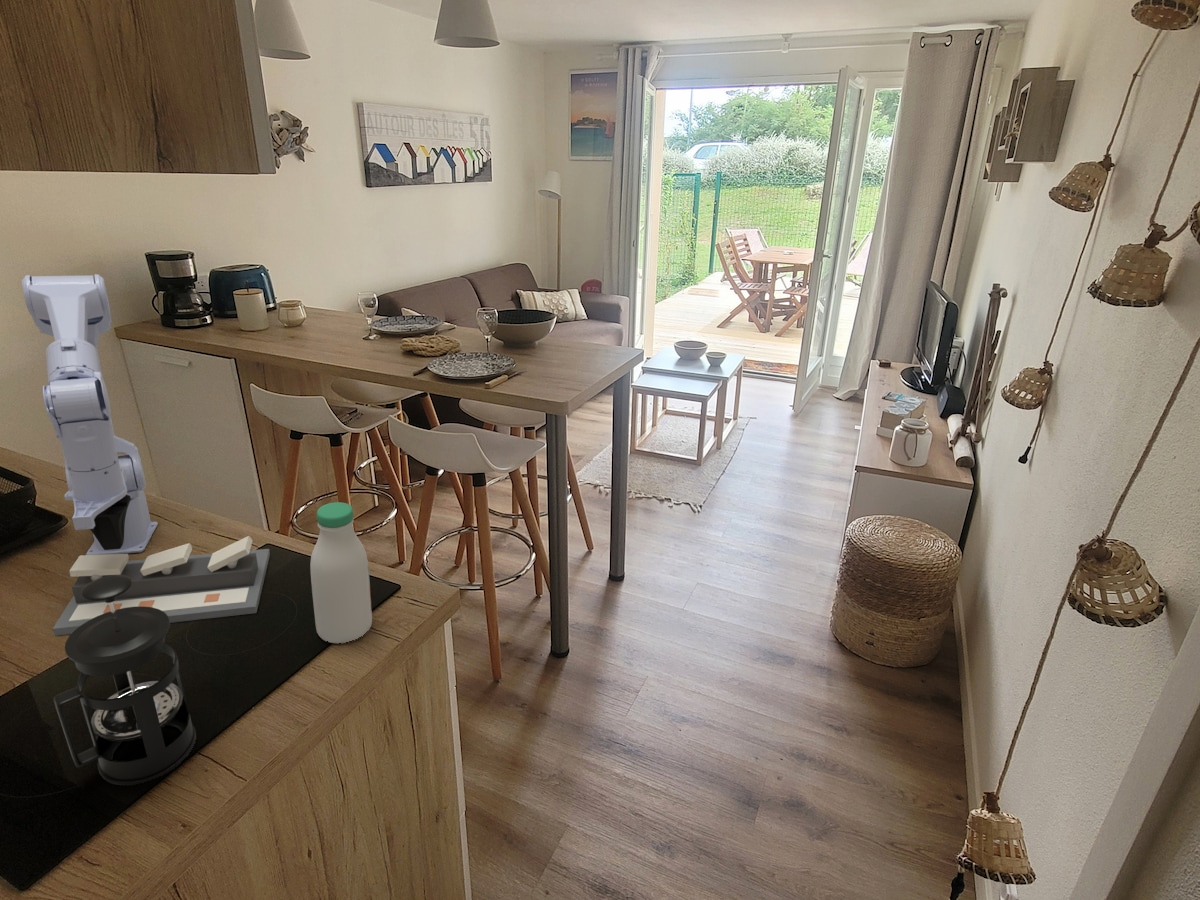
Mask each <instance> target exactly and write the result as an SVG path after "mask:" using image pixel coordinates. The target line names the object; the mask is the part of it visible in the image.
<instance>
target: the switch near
mask: <svg viewBox="0 0 1200 900" xmlns="http://www.w3.org/2000/svg"><path fill="white" fill-rule="evenodd" d="M129 559H130V557H129V553H124V554H108V555H86V554H85V555H84V554H83V555H79V556H78V557H77V559H76V561H74V563H73V565H72V566H71V568H70V569H69V571H68V572H69V576H70V577H71V578H72V577H74V578H75V577H79V576H91V579H92V580H93V581H94V580H96V579H99V578H102V576H103V575H120V574H121V573H122V571H123V569H124V567H125V566H126V564H127V562H128V561H130V560H129Z"/></svg>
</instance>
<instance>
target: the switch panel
mask: <svg viewBox="0 0 1200 900" xmlns="http://www.w3.org/2000/svg"><path fill="white" fill-rule="evenodd" d="M212 554H213V553H206V554H204V553H203V554H194V555H193V554H192V555H191V554H190V556H189V558H188V560H187V563H184V564H180V565H177V566H174V567H173V569H172V571H171V573H170V574H168V575H165V574H163V573H162V570H161V571H158V572H155V573H152V574H148V575H145V576H143V574H142V573H141V571H140V570H141V568H142V566H143V564H144V562H145V560H146V558H145V559H136V560H135V559H134V560H133V559H132V560H128V562H127V564H126V566H125V567H124V569H123V571H122V573H121V574H120V575H124V576H127V577H129V578H130V579H131V580H132V585H131V587H130V588H129V589H128V590H127V591H126V592H124V593H122V594H120V595H118V596H116V597H115V598H116V600H115V601H113V604H114V607H115V610H117V609H122V608H128V607H141V606H144V607H153V608H156V609H159V610H161V611H163V612H164V613H165V614H167V616H168V618H169V621H170V624H171V623H179V622H180V623H181V622H189V621H197V620H200V621H201V620H206V619H207V620H208V619H215V618H225V617H232V616H234V617H235V616H240V615H243V616H244V615H251V614H257V612H258V608H259V604H260V600H261V595H262V592H263V591H262V590H263V586H264V581H265V577H266V574H267V569H268V566H269V565H268V564H269V562H270V561H269V560H270V557H271V553H270V548H264V549H250V552H249V554H248V555H246V556H244V557H242V558H240V559H238V561H237V565H236V567H235V568H229V567H228V566H227V565H225V566H223V567H221V568H219V569H217V570H215V571H213V572H211V571H210V570H209V569H208V568H207V567H208V564H209V562H210V559H211V556H212ZM105 576H111V575H103V576H102V577H105ZM77 577H78V578H77V579H76V580H75V582H74V584H73V585H72V586H71V590H72V592H73V593H72V594H73V595H72V598H70V601H69V602H68V603H67V605H66V607H65V608H64V610H63V612H62V613H61V615H60V616H59V618H58V619H57V621H56V622H55V624H54V626H53V627H52V631H53V632H52V633H53V635H54V637H56V636H65V635H71V634H72V633H73V632H74V631H75V630H76V629H77V628H78V627H80V626H81V625H82V624H84V623H86V622H87V621H89V620H91V619H93V618H95V617H97V616H99V615H102V614H104V613H107V612H110V611H111V610H110V606H109V603H106V602H105V600H99V601H93V600H87V599H85V598H83V597H82V595H81V591H82V589H83V588H84V587H85V586H86V585H87V584H88V583H90V582H92V581H93V580H92V579H91V576H77Z"/></svg>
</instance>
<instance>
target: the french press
mask: <svg viewBox="0 0 1200 900" xmlns="http://www.w3.org/2000/svg"><path fill="white" fill-rule="evenodd" d="M131 585H132V580H131V579H130V578H129V577H127V576H124V575H111V576H105V577H102V578H99V579H96V580H94V581H92V582H90V583H88V584H87V585H86V586H85V587H84V588H83V589H82V591H81V595H82V597H83V598H85V599H87V600H93V601H99V600H105V602H106V603H109V606H110V610H111V611H110V612H107V613H104V614H102V615H99V616H97V617H95V618H93V619H91V620H89V621H87V622H86V623H84V624H82V625H81V626H80V627H78V628H77V629H76V630H75V631H74V632H73V633H72V634H69V636H68V637H67V639H66V641H65V644H64V650H65V655H66V656H67V658H68V659H69V660H71V661H73V662H74V665H75V668H76V669H77V670H78V671H79V672H80V673H79V674H78V676H77V678H76V680H75V681H76V683H75V686H74V687H73V688H70V689H67V690H65V691H63V692H60V693H58V694H56V695H54V696H53V703H54V706H55V709H56V712H57V715H58V719H59V721H60V724H61V728H62V730H63V731H62V732H63V734H64V737H65V740H66V743H67V746H68V749H69V752H70V755H71V758H72V760H73V763H74V765H75V767H76V768H81V767H83V766H86V765H88V764H91V763H92V762H94V761H97V769H98V773H99V775H100V776H101V778H102V780H104V781H106V782H108V783H110V784H112V785H115V786H122V785H123V787H126V786H135V785H136V784H137V785H139V784H138V783H142V784H145V783H144V782H146V783H147V781H149V782H151V780H152V779H153V780H152V781H155V780H156V779H155V778H157V779H159V778H160V777H159V776H161V777H163V776H165V775H167V774H169V773H170V772H171V770H172V771H173V770H174V769H176V768H177V767H179V766H180V765H181V764H182V763H183V762H184V761H185V760H186V759H187V758H188V757H189V755H190V754H191V753H192V751H193V749H194V747H195V745H196V741H197V731H196V728H195V726H194V725H193V723H192V718H191V714H190V709H189V705H188V701H187V699H188V698H187V695H186V691H185V686H184V681H183V678H182V677H183V676H182V672H181V668H180V664H179V659H178V654H177V652H176V650H175V649H174V648H173V646H171V645H169V644H168V643H165V642H166V641H165V640H166V635H167V634H168V632H169V629H170V626H171V625H170V624H171V623H170V621H169V618H168V616H167V614H165V613H164V612H163V611H161V610H159V609H156V608H153V607H144V606H141V607H128V608H122V609H117V610H115V607H114V604H113V601H115V600H116V598H115V597H116V596H118V595H120V594H122V593H124V592H126V591H127V590H128V589H129V588H130V587H131ZM160 653H162V654H165V655H168V656H170V657H171V659H172V660H171V661H172V667H170V670H169V671H168V672H167V673H166V674H165V675H164V676H163V677H162V678H161V679H159V680H151V681H145V682H141V683H135V678H134V673H133V670H136V669H138V668H141V667H143V666H144V665H146V664H148V663H151V661H152V660H154V659H155V658H156V657H158V656H159V654H160ZM109 676H113V677H112V678H113V680H114V684H115V688H116V691H117V692H115V693H114V694H112V695H110V696H109V697H107V698H104V699H103V698H102V699H101V698H95V697H92V696H91V697H90V696H88V695H86V694H84V693H83V692H82V689H83V687H84V685H85V683H86V681H87V680H88V679H89V678H90V677H109ZM175 679H176V681H177V685H176V684H174V683H172V682H173V681H174V680H175ZM77 700H80V701H79V702H80V705H81V707H82V710H83V715H84V718H85V721H86V724H87V727H88V731H89V733H90V737H91V741H92V743H93V747H91V748H88V749H86V750H84V751H82V752H80V753H77V751H76V747H75V744H74V742H73V739H72V735H71V732H70V728H69V725H68V722H67V719H66V716H65V713H64V710H63V707H64V706H66V705H68V704H71V703H72V702H75V701H77ZM87 707H88V708H90V709H93V710H95V711H94V713H93V715H92V717H90V715H89V712H88V708H87ZM165 726H170V727H175V728H177V729H178V730H179V731H180V733H179V735H178V736H177V737H176V738H175V739H173V741H171V742H170V743H168V745H165V739H164V736H163V732H162V728H163V727H165ZM141 738H142V742H143V746H144V750H145V756H143V757H139V758H135V759H130V760H115V759H113V757H114V754H115V752H116V750H117V749H118V748H119V746H120V745H121V744H122V743H123V742H127V741H128V742H129V741H134V740H138V739H141ZM195 740H196V741H195ZM194 744H195V745H194ZM193 746H194V747H193ZM192 748H193V749H192ZM191 750H192V751H191ZM190 752H191V753H190ZM189 753H190V754H189ZM186 757H187V758H186ZM185 758H186V759H185ZM184 759H185V760H184ZM183 760H184V761H183ZM182 761H183V762H182ZM181 762H182V763H181ZM179 764H180V765H179ZM175 767H176V768H175ZM169 771H170V772H169ZM166 773H167V774H166ZM164 774H165V775H164ZM158 777H159V778H158ZM125 785H126V786H125Z"/></svg>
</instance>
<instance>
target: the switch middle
mask: <svg viewBox="0 0 1200 900" xmlns="http://www.w3.org/2000/svg"><path fill="white" fill-rule="evenodd" d="M192 551H193V546H192V544H191V543H190V542H189V543H184V544H183V545H179V546H175V547H172V548H169V549H166V550H162V551H160V552H159V551H158V552H155V553H153V554H150V555H149V554H148V556H147V557H146V558H145V559H146V560H145V562H144V564H143V566H142V568H141V570H140V571H141V573H142V574H143V576H145V575H148V574H152V573H155V572H158V571H161V570H162V573H163V574H165V575H168V574H170V573H171V571H172V569H173V567H174V566H177V565H180V564H184V563H187V560H188V558H189V556H191V552H192Z"/></svg>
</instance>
